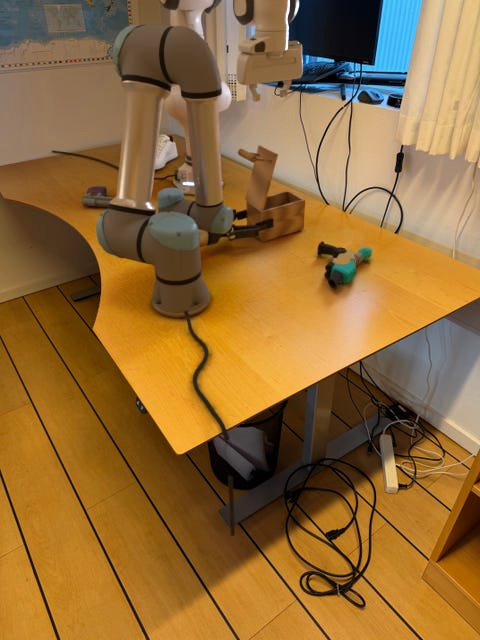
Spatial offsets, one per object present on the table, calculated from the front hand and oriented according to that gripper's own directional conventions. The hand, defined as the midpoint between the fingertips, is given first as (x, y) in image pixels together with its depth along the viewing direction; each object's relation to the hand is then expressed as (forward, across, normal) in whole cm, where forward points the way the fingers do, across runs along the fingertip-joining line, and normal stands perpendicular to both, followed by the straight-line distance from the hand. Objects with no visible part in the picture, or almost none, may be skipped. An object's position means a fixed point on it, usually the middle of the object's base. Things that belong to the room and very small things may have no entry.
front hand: (263, 217), depth 155 cm
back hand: (+1, 0, +35) cm, 35 cm away
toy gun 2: (+4, +31, -6) cm, 32 cm away
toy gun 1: (-34, -55, -6) cm, 65 cm away
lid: (-1, 0, +13) cm, 13 cm away
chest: (+5, 0, -6) cm, 8 cm away
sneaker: (+1, -86, -6) cm, 86 cm away
